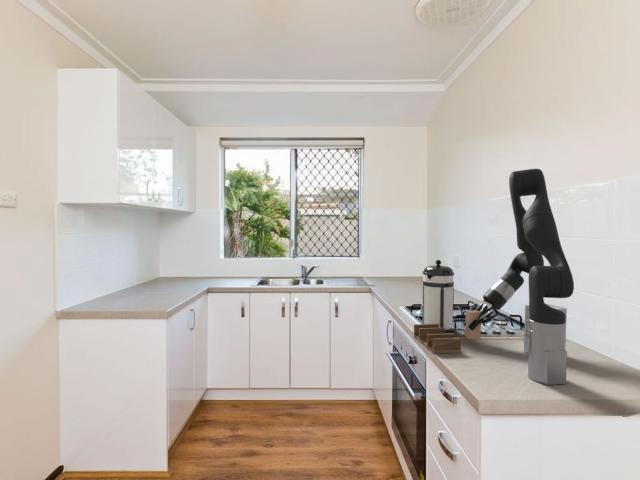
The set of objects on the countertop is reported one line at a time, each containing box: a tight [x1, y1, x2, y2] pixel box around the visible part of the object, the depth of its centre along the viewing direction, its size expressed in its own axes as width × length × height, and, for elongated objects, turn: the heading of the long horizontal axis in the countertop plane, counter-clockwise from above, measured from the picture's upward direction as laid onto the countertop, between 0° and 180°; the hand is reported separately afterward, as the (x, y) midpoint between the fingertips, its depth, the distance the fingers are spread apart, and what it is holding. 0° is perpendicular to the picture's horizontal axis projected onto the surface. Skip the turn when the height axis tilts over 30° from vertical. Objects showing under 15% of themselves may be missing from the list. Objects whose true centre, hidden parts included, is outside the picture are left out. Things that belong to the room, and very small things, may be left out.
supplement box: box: [523, 303, 568, 354], centre depth 138 cm, size 10×9×17 cm
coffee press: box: [421, 259, 456, 331], centre depth 169 cm, size 17×16×30 cm
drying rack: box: [413, 323, 462, 354], centre depth 150 cm, size 20×10×5 cm, turn 6°
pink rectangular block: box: [464, 310, 482, 340], centre depth 150 cm, size 3×4×10 cm, turn 96°
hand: (467, 327), depth 150 cm, fingers closed on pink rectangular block, 3 cm apart
